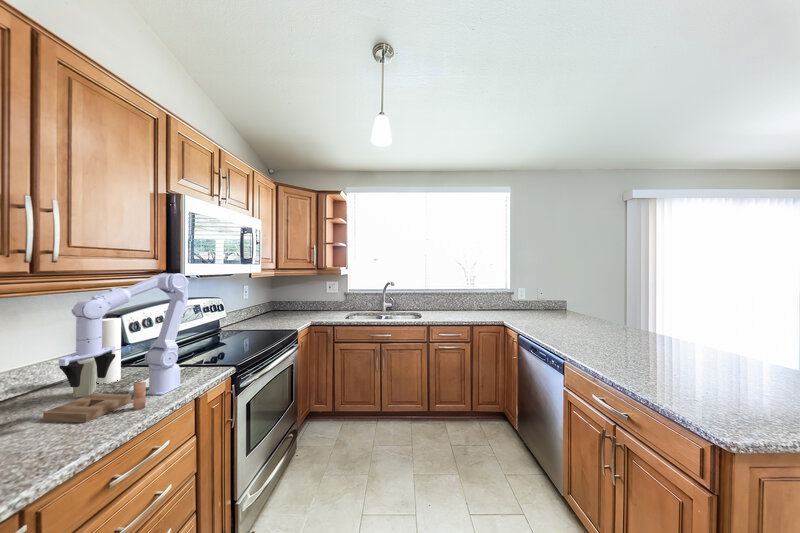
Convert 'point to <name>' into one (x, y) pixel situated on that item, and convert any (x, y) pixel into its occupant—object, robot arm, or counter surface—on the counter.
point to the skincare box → (86, 379)
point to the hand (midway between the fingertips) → (88, 382)
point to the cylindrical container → (112, 339)
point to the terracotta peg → (139, 396)
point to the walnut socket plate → (87, 408)
